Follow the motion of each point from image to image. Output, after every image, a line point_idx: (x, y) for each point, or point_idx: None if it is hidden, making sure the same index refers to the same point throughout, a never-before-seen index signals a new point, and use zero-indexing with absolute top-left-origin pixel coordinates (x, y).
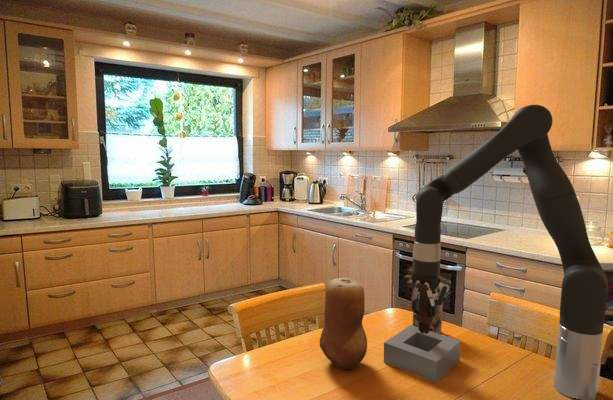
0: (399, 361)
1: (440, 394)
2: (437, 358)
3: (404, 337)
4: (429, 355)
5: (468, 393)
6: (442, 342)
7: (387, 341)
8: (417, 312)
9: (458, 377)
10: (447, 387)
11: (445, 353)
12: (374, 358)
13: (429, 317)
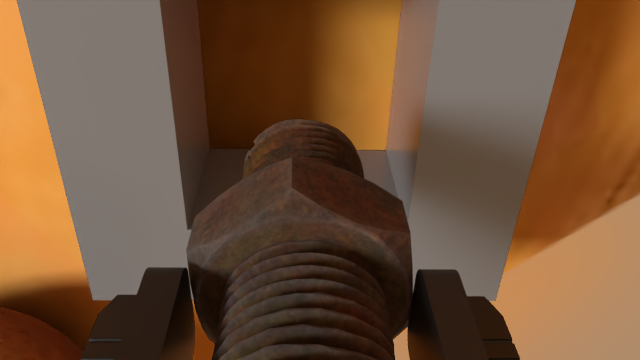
0: None
1: (504, 272)
2: (487, 265)
3: (142, 150)
4: (429, 265)
5: (630, 192)
6: (454, 17)
7: (97, 276)
8: (200, 310)
9: (563, 85)
10: (522, 209)
11: (523, 179)
12: (67, 210)
13: (399, 332)
